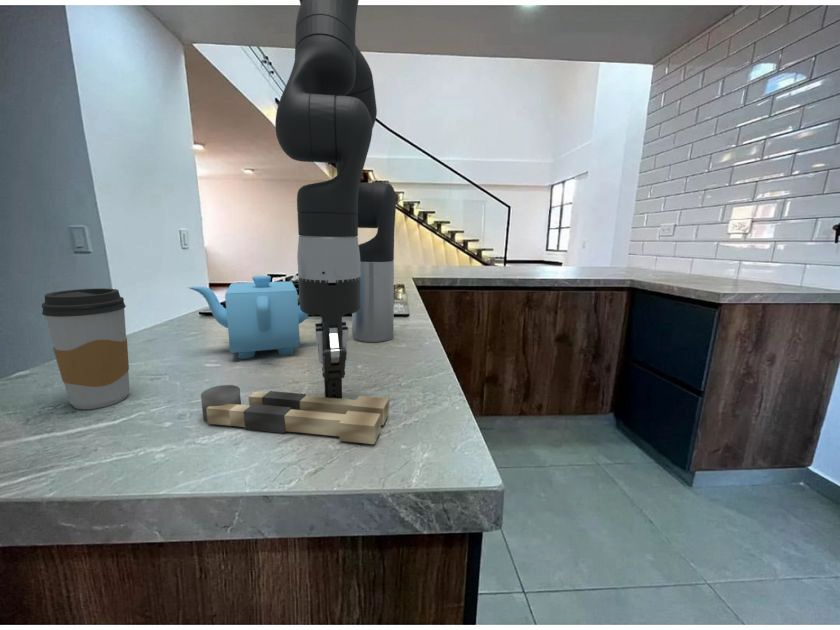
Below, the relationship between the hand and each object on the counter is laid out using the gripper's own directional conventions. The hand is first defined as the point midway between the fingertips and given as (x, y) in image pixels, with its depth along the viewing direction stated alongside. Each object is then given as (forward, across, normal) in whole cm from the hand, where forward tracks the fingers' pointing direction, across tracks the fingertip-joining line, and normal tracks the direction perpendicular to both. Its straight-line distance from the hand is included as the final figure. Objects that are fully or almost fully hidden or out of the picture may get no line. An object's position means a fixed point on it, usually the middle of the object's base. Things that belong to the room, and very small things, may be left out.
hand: (333, 401), depth 52 cm
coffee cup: (+1, -10, -31) cm, 32 cm away
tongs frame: (+1, +3, -6) cm, 7 cm away
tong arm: (+1, +2, -2) cm, 3 cm away
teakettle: (+2, -31, -11) cm, 33 cm away
